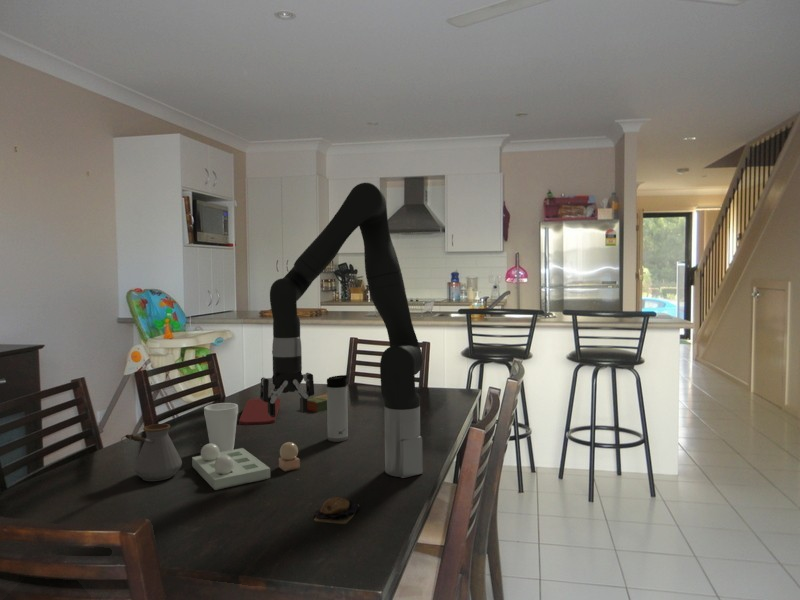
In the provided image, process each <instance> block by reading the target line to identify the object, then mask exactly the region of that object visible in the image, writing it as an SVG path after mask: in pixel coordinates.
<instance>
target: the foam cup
mask: <svg viewBox="0 0 800 600" xmlns="http://www.w3.org/2000/svg"><path fill="white" fill-rule="evenodd" d="M203 412H204V413H203V414H204V417H205V419H204V420H205V423H206V431H207V435H208V436H207V437H208V442H209V443H213V444H215V445H217V446H218V448H219V451H220V452H224V451H229V450H235V449H234V447H235V441H236V440H235V439H236V432H237V431H236V430H237V422H238V414H239V405H238V404H237V403H233V402H220V403H219V402H218V403H212V404H208V405H206V406H204V408H203Z"/></svg>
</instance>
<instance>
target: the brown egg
mask: <svg viewBox="0 0 800 600" xmlns="http://www.w3.org/2000/svg"><path fill="white" fill-rule="evenodd" d="M298 454H299V447H298V446H297V444H295V443H294V442H292V441H288V442H287V441H286V442H285V443H283V444H282V445H281V447H280V449H279V455H280V458H281V457H282V458H283V459H284V460H287V461H288V460H293V459H295V458H296V457H297V456H298Z"/></svg>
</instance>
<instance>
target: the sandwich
mask: <svg viewBox="0 0 800 600" xmlns="http://www.w3.org/2000/svg"><path fill="white" fill-rule="evenodd" d="M359 508H360V504H359V502H356V501H355V500H354V499H351V500H348V499H346V498H344V497H339V496H335V497H334V496H333V497H330V498H327V499H326V500H325V501H324V502H323V504H322V506H321V507H320V508H318V509H317V510H316V511H315V517H314V519H313V522H320V523H331V524H339V525H340V524H342V525H346V524H347V523H349V522H350V521H351V519H352V518H353V517H354V516H355V515H356V513H357V512H358V510H359Z"/></svg>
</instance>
